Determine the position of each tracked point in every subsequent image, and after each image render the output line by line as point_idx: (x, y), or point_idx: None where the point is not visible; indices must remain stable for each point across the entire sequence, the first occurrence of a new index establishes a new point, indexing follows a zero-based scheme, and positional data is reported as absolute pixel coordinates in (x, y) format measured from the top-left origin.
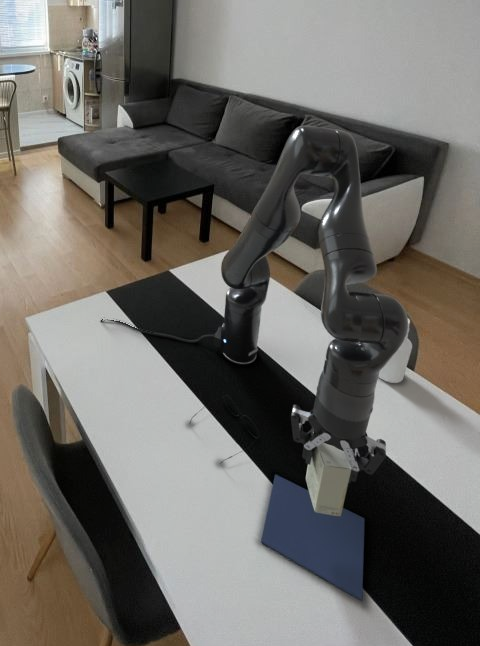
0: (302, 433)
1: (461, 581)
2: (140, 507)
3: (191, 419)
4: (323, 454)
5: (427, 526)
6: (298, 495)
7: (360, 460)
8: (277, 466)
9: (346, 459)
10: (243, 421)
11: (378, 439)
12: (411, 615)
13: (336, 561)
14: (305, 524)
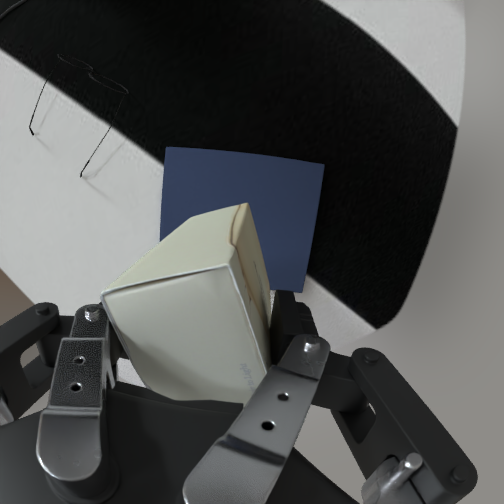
0: (56, 346)
1: (431, 209)
2: (31, 290)
3: (30, 129)
4: (161, 392)
5: (412, 142)
6: (209, 169)
7: (324, 390)
8: (170, 125)
9: None
10: (101, 75)
11: (447, 498)
12: (361, 279)
13: (271, 256)
14: None
